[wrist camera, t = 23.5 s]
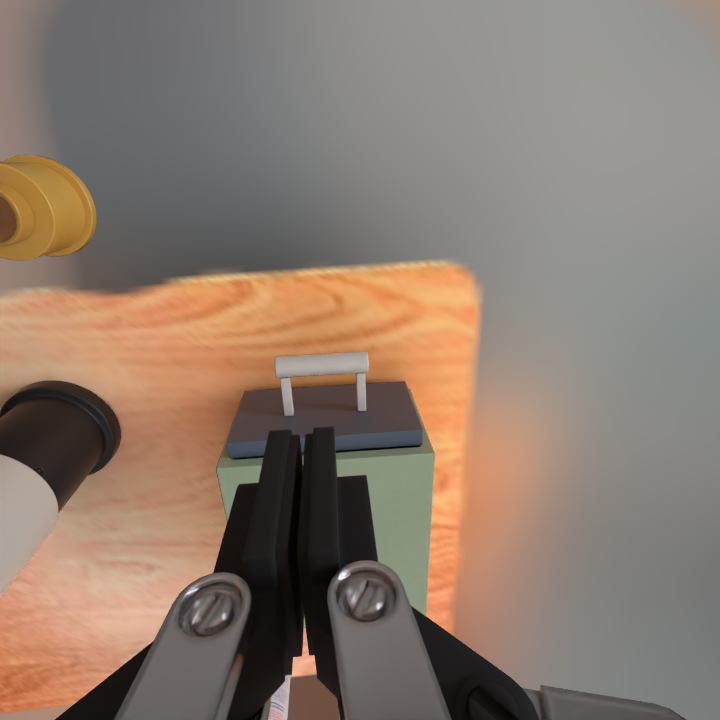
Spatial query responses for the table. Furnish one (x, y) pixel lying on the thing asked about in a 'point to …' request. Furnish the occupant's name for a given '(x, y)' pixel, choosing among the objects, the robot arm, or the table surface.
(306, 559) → the robot arm
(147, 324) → the table surface
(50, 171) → the bell
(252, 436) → the drawer
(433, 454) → the cabinet
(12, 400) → the light fixture
